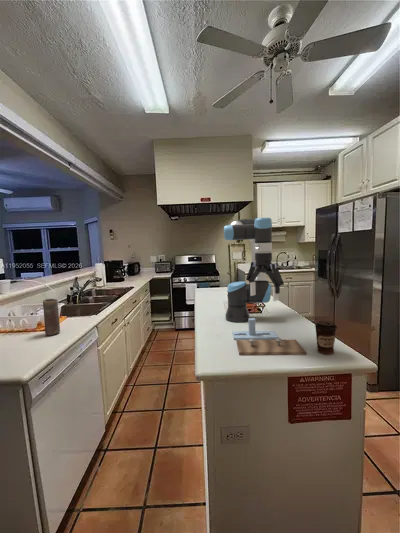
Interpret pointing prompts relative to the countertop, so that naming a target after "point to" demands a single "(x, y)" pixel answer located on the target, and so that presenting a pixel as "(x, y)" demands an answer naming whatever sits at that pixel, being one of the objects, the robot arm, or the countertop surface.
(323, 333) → the coffee cup
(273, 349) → the boss board
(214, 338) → the countertop surface
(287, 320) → the countertop surface
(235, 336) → the panel
